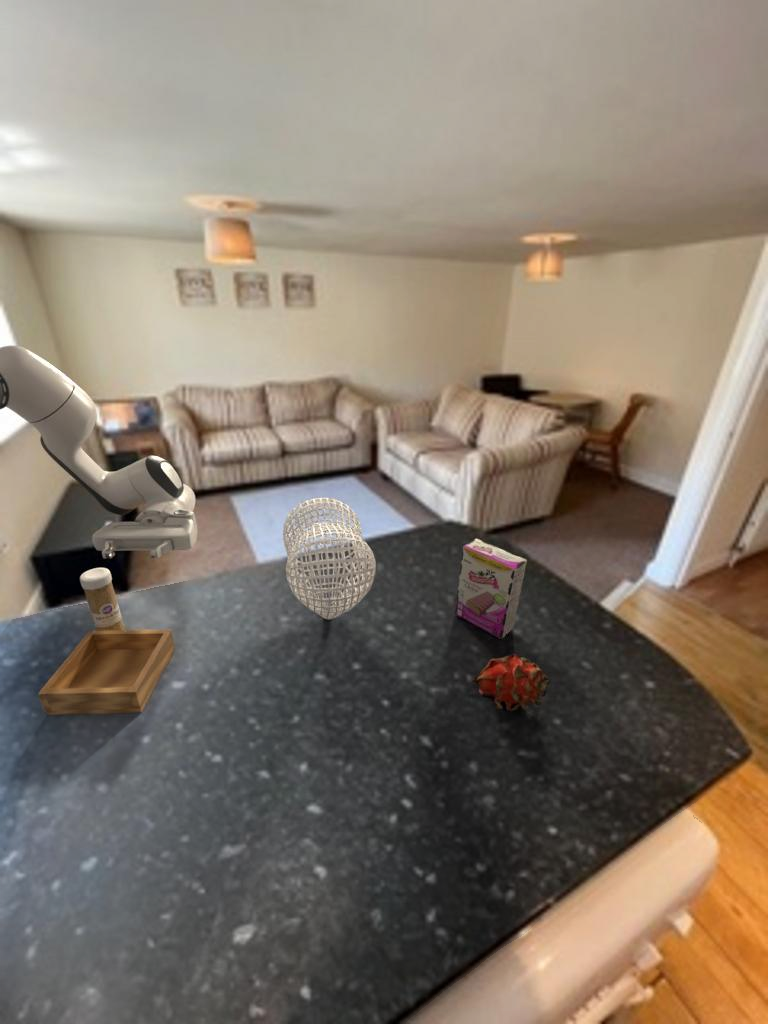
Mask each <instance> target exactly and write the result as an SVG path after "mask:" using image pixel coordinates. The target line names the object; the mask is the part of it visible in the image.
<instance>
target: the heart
mask: <svg viewBox="0 0 768 1024" xmlns="http://www.w3.org/2000/svg"><path fill="white" fill-rule="evenodd" d="M326 504H327V505H326ZM326 510H328V513H326ZM320 511H322V513H320ZM333 511H334V513H333ZM314 512H315V514H314ZM339 513H340V515H339ZM308 514H309V515H308ZM298 516H299V517H298ZM345 516H346V517H347V518H346V517H345ZM320 517H323V518H321V519H320ZM326 517H329V518H326ZM314 518H317V520H315V519H314ZM333 518H334V519H333ZM293 520H294V521H293ZM310 520H311V522H309V521H310ZM333 522H335V523H333ZM304 524H305V525H304ZM282 536H283V537H282V540H283V545H284V547H285V551H286V555H287V559H286V565H285V576H286V580H287V584H288V586H289V588H290V591H291V592H292V593H293V595H294V596H295V598H296V599H297V600H298V601H299V602H300V603H301V604H302V605H304V606H305V607H306V608H308V610H311V611H312V612H314V613H315V614H317V615H318V616H320V617H321V618H323V619H325V620H333V619H336V618H338V617H339V616H341V615H342V614H345V613H347V612H349V611H350V610H352V609H353V608H355V607H356V606H357V605H358V604H359V603H360V602H361V601H362V600H363V599H364V598H365V596H366V595H367V594H368V593H369V592H370V590H371V589H372V586H373V584H374V581H375V577H376V572H377V571H376V570H377V567H376V566H377V564H376V563H377V562H376V558H375V555H374V552H373V550H372V549H371V546H369V545H368V543H367V542H366V541H365V540H364V539H363V538H362V526H361V522H360V519H359V516H358V515H357V514H356V512H355V511H354V510H353V508H351V507H350V506H349V505H348V504H346V503H345V502H342V501H341V500H339V499H336V498H331V497H315V498H314V497H313V498H311V499H307V500H304V501H303V502H300V503H299V504H297V505H296V506H295V507H294V508H293V509H292V510H291V511H290V512H289V513H288V515H287V516H286V518H285V520H284V524H283V527H282ZM327 536H329V537H330V538H327ZM333 536H335V537H333ZM317 538H318V540H317ZM312 539H313V541H311V540H312ZM350 544H351V545H350ZM322 545H323V547H322ZM328 545H331V547H330V548H328V547H329V546H328ZM335 545H336V547H335ZM345 545H346V546H345ZM312 546H313V548H314V550H312V549H311V547H312ZM318 546H319V547H318ZM306 548H307V549H306ZM303 551H304V552H303ZM346 552H347V553H348V555H346ZM323 554H324V555H325V559H324V557H323ZM329 554H332V555H331V556H332V558H330V557H329ZM336 554H337V557H336ZM353 554H354V555H353ZM313 555H314V556H315V560H313V558H312V557H313ZM340 555H341V558H340ZM352 555H353V556H352ZM303 557H304V558H303ZM320 557H321V559H320ZM304 559H305V561H304ZM324 565H326V566H324ZM330 565H332V566H330ZM337 565H338V566H337ZM314 566H316V567H315V568H314ZM321 566H322V567H321ZM348 566H349V567H348ZM305 567H306V569H305ZM341 569H342V573H340V571H341ZM321 570H322V571H321ZM325 570H326V574H325ZM330 570H332V574H330ZM299 571H300V572H299ZM315 571H317V575H316V573H315ZM346 571H347V572H346ZM306 573H307V574H308V575H307V574H306ZM349 576H350V577H349ZM339 578H340V580H339ZM348 578H349V579H348ZM322 579H323V582H322ZM326 579H327V582H326ZM330 579H332V580H331V581H330ZM318 580H319V581H318ZM334 580H335V581H334ZM314 581H315V582H314ZM318 582H319V583H318ZM342 582H343V583H342ZM326 585H327V586H326ZM334 585H335V586H334ZM323 586H324V587H323ZM324 593H325V596H324ZM327 595H328V597H327Z"/></svg>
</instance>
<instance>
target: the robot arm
mask: <svg viewBox="0 0 768 1024" xmlns="http://www.w3.org/2000/svg"><path fill="white" fill-rule="evenodd" d="M5 408H7V409H9V410H11V411H12V412H14V413H15V414H17V415H18V416H19V417H21V418H22V419H24V421H26V422H28V423H29V424H30V425H31V426H33V428H34V429H36V430H37V431H38V433H39V434H40V438H39V441H40V444H41V447H42V448H43V450H44V451H45V452H46V454H47V455H48V456H49V457H50V458H51V459H52V460H53V461H54V462H55V463H56V464H57V465H58V466H60V467H61V469H63V470H64V471H65V472H66V473H67V474H68V475H69V476H71V478H73V479H74V480H75V481H76V482H78V484H79V485H81V486H82V487H83V488H84V489H85V490H86V491H87V492H89V494H90V495H91V496H92V497H93V498H94V500H95V502H97V504H98V505H99V506H100V507H101V508H102V509H104V510H105V511H107V512H109V513H111V514H114V515H118V516H124V515H127V514H129V513H131V512H133V511H134V510H136V509H138V508H139V507H141V506H144V505H146V507H144V509H142V511H141V512H140V513H139V514H137V516H136V517H135V520H134V521H112V522H110V523H108V524H107V523H106V525H104V526H102V527H101V528H100V529H98V530H96V531H95V532H94V533H93V534H92V535H91V540H92V543H93V546H94V549H95V550H96V551H98V552H101V555H102V558H103V559H113V557H115V556H116V553H115V552H117V551H118V552H121V551H125V552H126V551H127V552H128V551H131V552H132V551H133V552H136V551H139V552H140V551H142V552H143V551H144V552H145V551H150V552H149V554H150V558H151V559H160V558H161V557H162V556H163V555H166V554H168V553H169V552H172V551H188V550H191V549H193V548H194V546H195V544H196V542H197V538H198V536H199V535H198V533H199V532H198V523H197V519H196V516H195V513H194V510H195V507H196V495H195V491H193V489H192V488H191V487H190V486H188V485H187V484H185V483H184V482H183V479H182V477H181V475H180V473H179V471H178V470H177V469H176V467H175V466H174V465H173V464H172V463H171V462H169V461H168V460H167V459H164V458H162V457H160V456H157V455H147V456H146V457H144V458H142V459H139V460H137V461H135V462H133V463H131V464H128V465H127V466H125V467H123V468H121V469H118V470H116V471H107V470H104V469H103V468H101V466H99V464H97V463H96V461H94V460H93V459H92V457H90V456H89V454H87V453H86V452H85V451H84V449H83V448H82V446H83V444H84V443H85V442H86V441H87V440H88V439H89V437H90V436H91V434H92V432H93V430H94V428H95V425H96V423H97V415H98V413H97V408H96V404H95V402H94V400H93V399H92V398H91V397H90V396H89V395H88V394H87V392H86V391H85V390H83V389H82V388H81V387H80V386H79V385H77V384H76V383H75V382H74V381H73V380H72V379H71V378H69V376H67V375H65V374H64V373H63V372H61V371H60V370H59V369H58V368H57V367H56V366H54V365H52V364H51V363H49V361H46V360H45V359H44V358H42V357H40V356H39V355H38V354H36V353H34V352H33V351H31V350H29V349H27V348H25V347H23V346H19V345H5V346H1V347H0V410H3V409H5Z"/></svg>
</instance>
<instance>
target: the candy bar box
mask: <svg viewBox="0 0 768 1024" xmlns="http://www.w3.org/2000/svg"><path fill="white" fill-rule="evenodd" d="M460 560H461V561H460V569H459V575H458V576H459V577H458V579H459V580H458V584H457V593H456V602H455V608H454V609H455V610H454V615H455V614H456V615H455V616H457V615H458V616H459V617H458V616H457V617H458V618H460V617H461V618H460V619H462V618H463V619H462V620H464V619H465V620H464V621H466V620H467V621H466V622H467V623H469V622H470V623H469V624H471V623H472V624H471V625H473V624H474V625H473V626H475V625H476V626H475V627H477V626H478V627H480V628H483V629H485V630H486V631H489V632H490V633H492V634H494V635H496V636H498V637H500V638H503V637H504V636H505V635H506V634H508V633H509V632H510V631H511V630H512V629H513V628H514V629H515V624H516V619H517V614H518V607H519V603H520V599H521V593H522V588H523V585H524V584H523V582H524V578H525V575H526V569H527V564H528V560H527V559H526V558H523V557H521V556H518V555H516V554H514V553H511V552H510V551H507V550H504V549H502V548H499V547H498V546H495V545H492V544H490V543H489V542H485V541H484V540H481V539H479V538H475V539H473V540H472V541H470V542H469V543H466V544H464V545H463V546H462V551H461V559H460ZM478 627H477V628H478ZM480 628H479V629H480ZM514 629H513V630H514ZM513 630H512V631H513ZM486 631H485V632H486ZM512 631H511V632H512ZM511 632H510V633H511ZM510 633H509V634H510ZM509 634H508V635H509Z"/></svg>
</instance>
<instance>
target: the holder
mask: <svg viewBox="0 0 768 1024" xmlns="http://www.w3.org/2000/svg"><path fill="white" fill-rule="evenodd" d="M175 650H176V644H175V640H174V635H173V632H172V629H125V630H104V631H97V630H89V631H88V632H87V633H86V634H85V635H84V637H83V638H82V639H81V640H80V641H79V643H78V644H77V645H76V646H75V648H74V649H73V650H72V651H71V652H70V654H69V655H68V656H67V658H65V660H64V661H63V662H62V664H61V665H60V666H59V667H58V668H57V670H55V672H54V673H53V674H52V676H51V677H50V678H49V679H48V681H47V682H46V683H45V685H43V687H42V688H41V689H40V690H39V692H38V693H37V696H38V699H39V701H40V704H41V706H42V708H43V711H44V715H46V716H55V715H58V716H59V715H60V716H61V715H97V714H98V715H99V714H141V713H142V712H143V711H144V709H145V708H146V705H147V703H148V701H149V699H150V698H151V695H152V694H153V693H154V690H155V688H156V686H157V684H158V682H159V680H160V679H161V677H162V675H163V674H164V671H165V669H166V667H167V665H168V664H169V661H170V659H171V658H172V656H173V654H174V652H175Z"/></svg>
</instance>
